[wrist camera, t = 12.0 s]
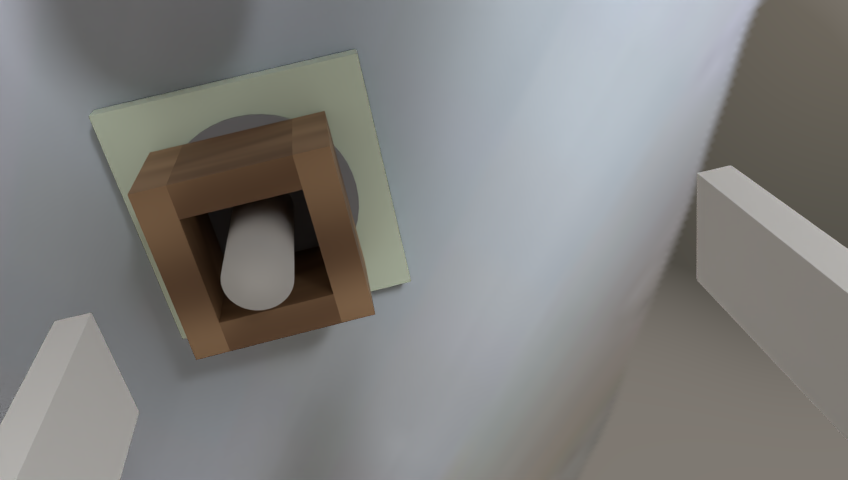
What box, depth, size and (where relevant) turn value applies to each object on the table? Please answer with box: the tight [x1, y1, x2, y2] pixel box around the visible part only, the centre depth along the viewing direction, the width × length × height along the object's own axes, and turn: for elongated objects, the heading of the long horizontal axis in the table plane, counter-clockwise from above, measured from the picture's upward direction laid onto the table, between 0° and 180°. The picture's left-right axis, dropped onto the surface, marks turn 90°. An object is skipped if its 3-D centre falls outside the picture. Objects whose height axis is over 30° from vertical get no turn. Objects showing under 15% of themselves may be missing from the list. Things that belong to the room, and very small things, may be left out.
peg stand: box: [89, 49, 411, 339], centre depth 32 cm, size 12×12×8 cm
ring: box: [127, 111, 375, 360], centre depth 33 cm, size 8×8×5 cm
